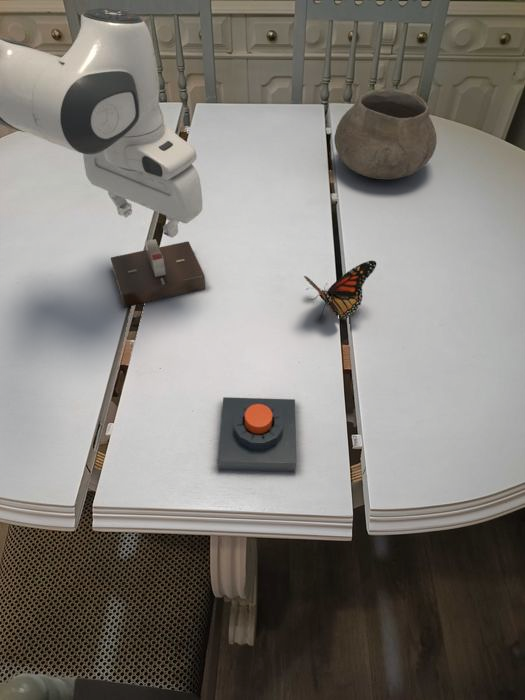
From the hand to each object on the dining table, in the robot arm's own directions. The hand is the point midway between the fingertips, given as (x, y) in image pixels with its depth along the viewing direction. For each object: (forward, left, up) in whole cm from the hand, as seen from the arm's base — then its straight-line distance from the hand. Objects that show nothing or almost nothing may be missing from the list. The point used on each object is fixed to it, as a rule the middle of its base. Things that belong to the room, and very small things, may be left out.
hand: (148, 224), depth 85 cm
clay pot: (+55, +19, -12) cm, 60 cm away
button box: (+5, -37, -11) cm, 38 cm away
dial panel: (0, -1, -11) cm, 11 cm away
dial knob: (0, -1, -8) cm, 8 cm away
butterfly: (+25, -18, -12) cm, 33 cm away
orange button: (+5, -36, -8) cm, 38 cm away
